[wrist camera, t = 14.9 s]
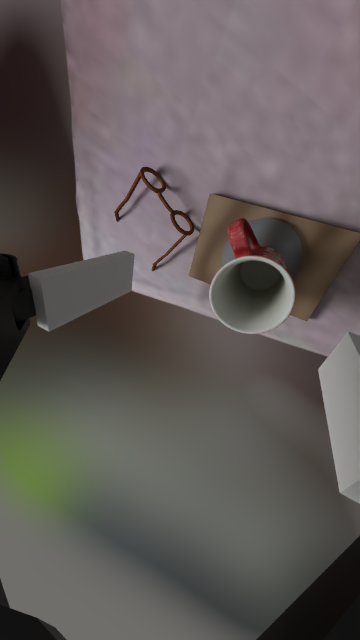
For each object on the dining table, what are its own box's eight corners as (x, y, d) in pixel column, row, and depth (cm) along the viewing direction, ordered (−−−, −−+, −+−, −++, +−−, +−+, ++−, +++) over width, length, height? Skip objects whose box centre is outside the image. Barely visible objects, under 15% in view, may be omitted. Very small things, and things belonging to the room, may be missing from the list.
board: (360, 233, 29) (366, 234, 27) (306, 317, 36) (307, 323, 34) (212, 194, 35) (207, 192, 33) (191, 274, 42) (186, 277, 40)
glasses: (198, 230, 38) (188, 232, 34) (154, 271, 46) (141, 276, 42) (155, 167, 37) (138, 161, 33) (116, 219, 45) (99, 220, 41)
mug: (297, 291, 33) (300, 331, 22) (239, 300, 38) (218, 337, 27) (285, 205, 29) (283, 201, 18) (222, 227, 34) (190, 234, 23)
